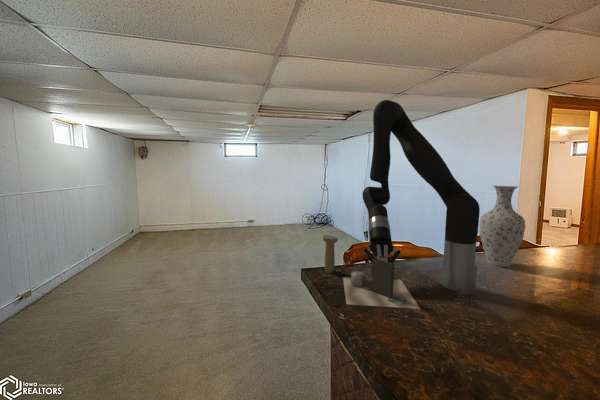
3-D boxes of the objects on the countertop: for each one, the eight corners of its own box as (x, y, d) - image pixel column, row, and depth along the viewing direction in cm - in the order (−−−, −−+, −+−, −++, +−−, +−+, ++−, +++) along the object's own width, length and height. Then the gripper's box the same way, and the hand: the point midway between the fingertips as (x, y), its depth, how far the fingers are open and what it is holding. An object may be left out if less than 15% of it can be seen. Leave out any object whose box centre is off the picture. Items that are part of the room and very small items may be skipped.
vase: (518, 262, 122) (526, 186, 119) (524, 273, 109) (533, 187, 105) (476, 256, 131) (482, 184, 127) (476, 266, 117) (483, 186, 114)
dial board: (400, 283, 98) (400, 279, 98) (420, 312, 77) (420, 308, 77) (342, 280, 100) (342, 276, 100) (346, 308, 80) (346, 303, 79)
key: (347, 282, 94) (348, 253, 93) (357, 279, 97) (358, 251, 96) (398, 304, 79) (400, 269, 78) (407, 299, 82) (409, 266, 81)
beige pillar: (329, 278, 102) (330, 239, 100) (319, 272, 107) (320, 236, 106) (339, 276, 104) (340, 238, 103) (329, 270, 110) (330, 234, 108)
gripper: (362, 224, 96) (364, 270, 85) (400, 226, 94) (407, 273, 84) (359, 235, 102) (361, 279, 91) (396, 236, 100) (402, 282, 90)
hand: (383, 276), depth 88 cm, fingers closed
